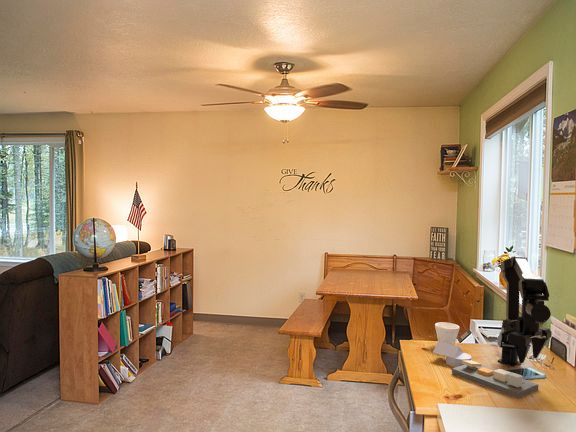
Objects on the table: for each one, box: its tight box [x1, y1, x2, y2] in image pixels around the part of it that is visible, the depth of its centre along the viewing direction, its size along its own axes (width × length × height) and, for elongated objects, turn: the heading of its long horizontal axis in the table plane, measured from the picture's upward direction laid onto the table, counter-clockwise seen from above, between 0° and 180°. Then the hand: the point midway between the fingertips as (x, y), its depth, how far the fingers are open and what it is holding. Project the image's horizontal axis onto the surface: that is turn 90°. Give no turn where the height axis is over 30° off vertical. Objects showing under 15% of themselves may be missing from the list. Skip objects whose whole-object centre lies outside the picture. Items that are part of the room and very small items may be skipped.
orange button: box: [477, 367, 494, 377], centre depth 162 cm, size 4×4×2 cm
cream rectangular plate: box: [462, 359, 482, 367], centre depth 166 cm, size 6×4×1 cm, turn 126°
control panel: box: [451, 364, 539, 400], centre depth 159 cm, size 13×24×3 cm, turn 36°
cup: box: [434, 321, 460, 346], centre depth 196 cm, size 10×10×9 cm
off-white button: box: [493, 368, 512, 382], centre depth 157 cm, size 4×4×2 cm
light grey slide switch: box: [507, 372, 524, 387], centre depth 151 cm, size 3×4×3 cm
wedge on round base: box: [432, 341, 472, 368], centre depth 177 cm, size 9×7×13 cm
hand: (528, 360), depth 155 cm, fingers open, 9 cm apart
